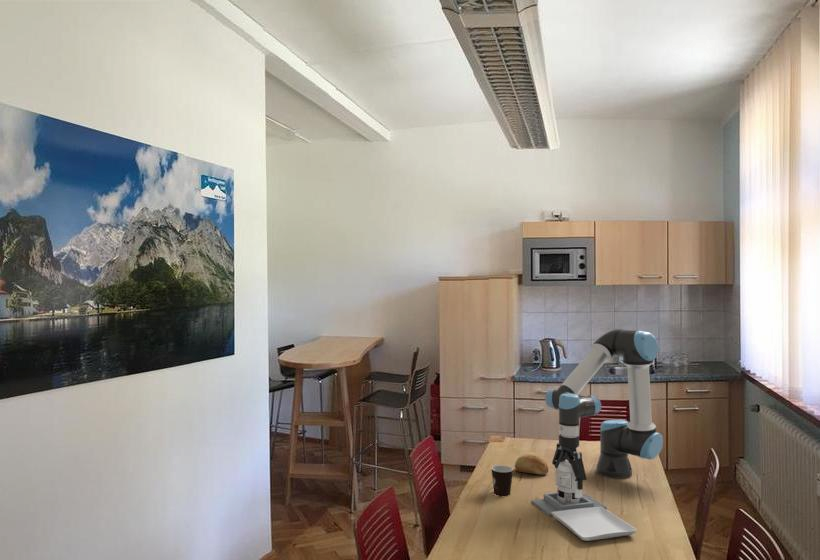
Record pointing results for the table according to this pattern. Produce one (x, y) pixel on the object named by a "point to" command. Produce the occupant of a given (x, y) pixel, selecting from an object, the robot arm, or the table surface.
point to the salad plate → (593, 523)
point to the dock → (552, 505)
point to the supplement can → (566, 484)
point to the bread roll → (531, 464)
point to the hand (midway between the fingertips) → (568, 491)
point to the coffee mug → (502, 479)
